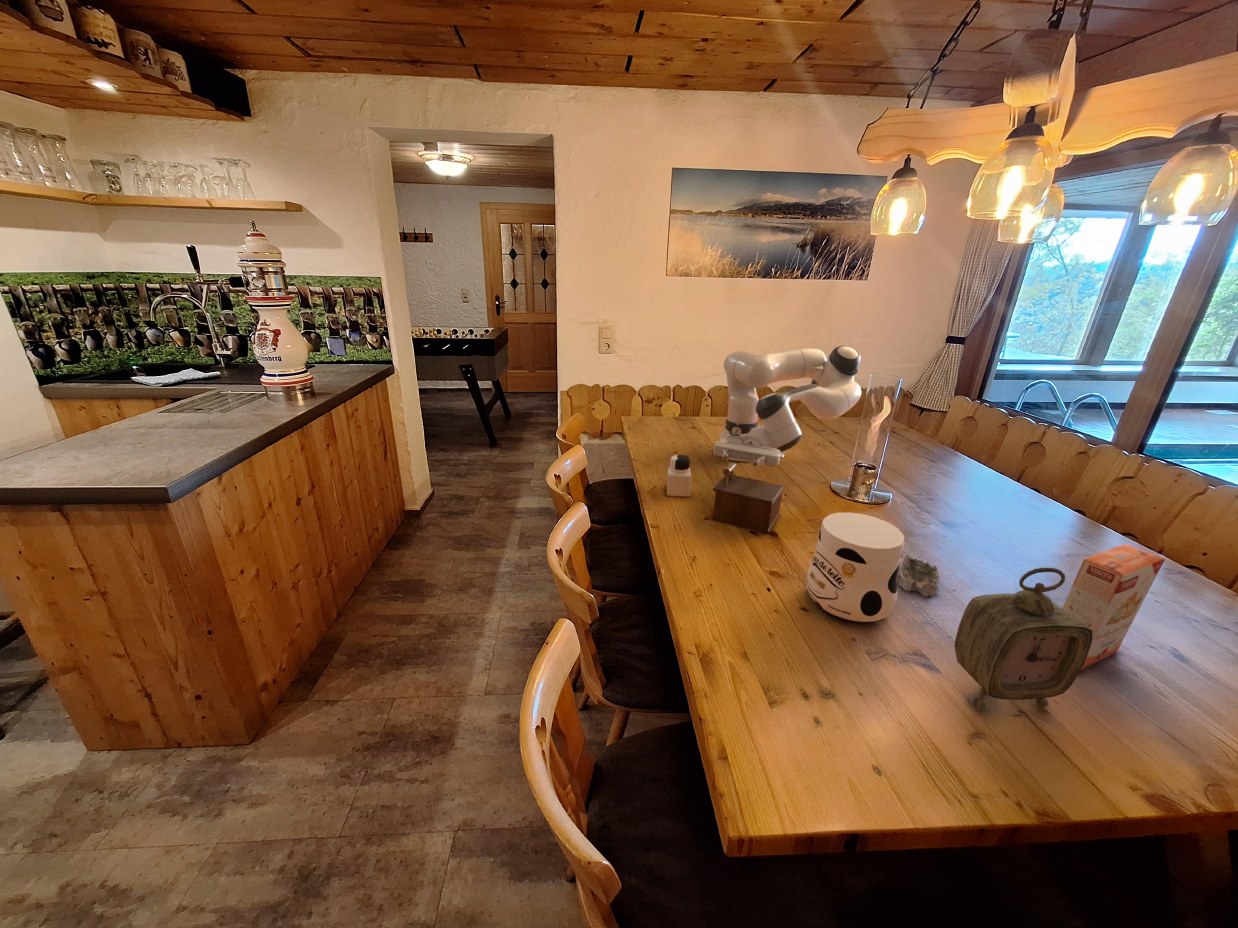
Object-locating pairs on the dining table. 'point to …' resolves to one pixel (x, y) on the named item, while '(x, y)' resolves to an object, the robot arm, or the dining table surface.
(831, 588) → the milk container
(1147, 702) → the dining table surface
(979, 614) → the tabletop clock
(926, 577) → the egg carton
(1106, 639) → the cracker box
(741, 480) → the chest lid
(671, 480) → the medicine bottle
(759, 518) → the chest
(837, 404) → the robot arm
